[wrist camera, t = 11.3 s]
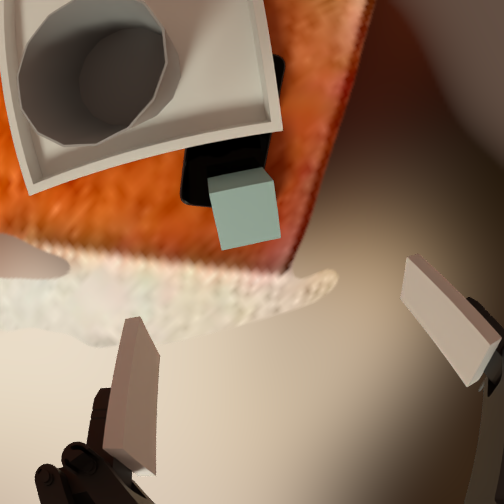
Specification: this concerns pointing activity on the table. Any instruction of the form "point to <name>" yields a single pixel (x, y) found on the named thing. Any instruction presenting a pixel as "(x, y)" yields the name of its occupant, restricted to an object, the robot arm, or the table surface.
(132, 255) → the table surface
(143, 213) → the table surface
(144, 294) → the table surface
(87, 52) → the cup
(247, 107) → the shallow white dish
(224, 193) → the block
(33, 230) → the table surface
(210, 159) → the smartphone
